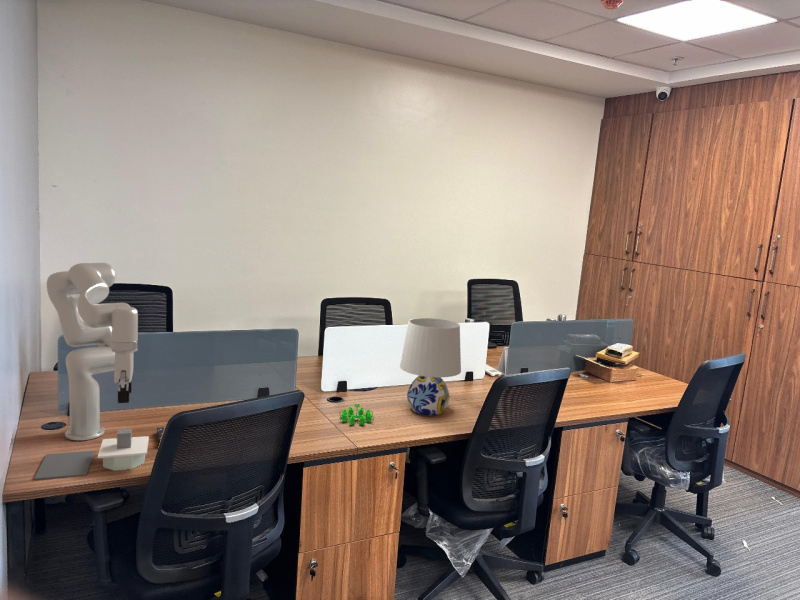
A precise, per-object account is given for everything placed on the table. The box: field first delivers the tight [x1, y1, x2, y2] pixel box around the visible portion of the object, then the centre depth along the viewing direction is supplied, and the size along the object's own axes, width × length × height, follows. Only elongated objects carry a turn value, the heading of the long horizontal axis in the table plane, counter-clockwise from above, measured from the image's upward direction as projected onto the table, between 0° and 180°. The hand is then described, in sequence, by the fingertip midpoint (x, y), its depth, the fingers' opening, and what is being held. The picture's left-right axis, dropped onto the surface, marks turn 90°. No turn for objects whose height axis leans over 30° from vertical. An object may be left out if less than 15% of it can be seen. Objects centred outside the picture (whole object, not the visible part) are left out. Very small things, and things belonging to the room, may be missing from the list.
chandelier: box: [339, 403, 375, 427], centre depth 244 cm, size 15×15×7 cm
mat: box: [33, 450, 95, 481], centre depth 187 cm, size 18×14×1 cm
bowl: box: [102, 455, 146, 472], centre depth 192 cm, size 12×12×5 cm
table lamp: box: [399, 317, 462, 417], centre depth 261 cm, size 27×27×40 cm
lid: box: [97, 428, 150, 459], centre depth 191 cm, size 14×14×6 cm
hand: (124, 397), depth 189 cm, fingers open, 9 cm apart
